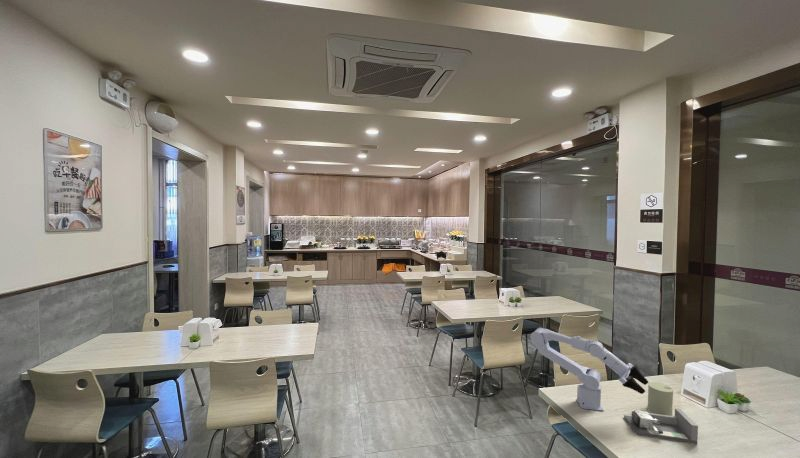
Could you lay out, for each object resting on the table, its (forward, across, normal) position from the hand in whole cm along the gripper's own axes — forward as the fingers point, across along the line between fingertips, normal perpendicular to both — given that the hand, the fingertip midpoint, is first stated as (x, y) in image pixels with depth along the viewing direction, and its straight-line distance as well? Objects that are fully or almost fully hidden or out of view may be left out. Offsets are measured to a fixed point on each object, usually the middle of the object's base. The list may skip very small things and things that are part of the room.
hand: (645, 387), depth 144 cm
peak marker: (+11, -10, +6) cm, 16 cm away
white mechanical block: (+9, -9, +9) cm, 15 cm away
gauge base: (+13, -5, +9) cm, 16 cm away
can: (+13, +12, +13) cm, 22 cm away
